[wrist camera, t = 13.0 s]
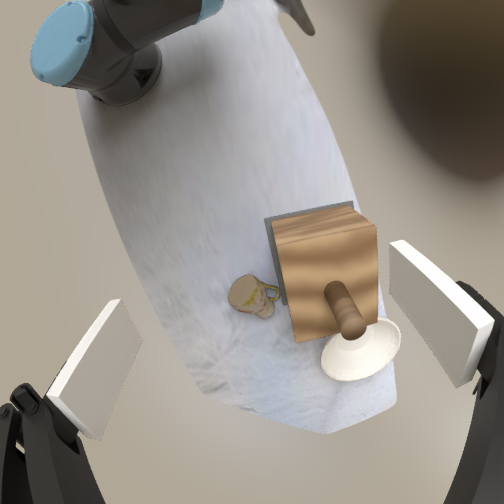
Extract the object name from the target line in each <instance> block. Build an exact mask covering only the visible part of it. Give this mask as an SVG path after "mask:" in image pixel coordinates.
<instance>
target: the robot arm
mask: <svg viewBox="0 0 504 504" xmlns="http://www.w3.org/2000/svg"><path fill="white" fill-rule="evenodd" d="M223 3H224V0H90V1H89V2H85V1H78V0H76V1H73V2H67V3H65V4H63V5H61V6H60V7H58V8H57V9H56V10H55V11H53V12H52V13H51V14H50V15H49V16H48V17H47V19H46V20H45V21H44V23H43V24H42V25H41V27H40V29H39V30H38V32H37V34H36V36H35V40H34V43H33V45H32V50H31V57H30V63H31V68H32V71H33V73H34V75H35V76H36V78H38V79H39V80H40V81H42V82H46V83H49V84H52V85H53V86H61V87H68V88H75V89H81V90H87V91H88V92H89V93H90V94H91V95H92V96H93V97H94V98H95V99H96V100H97V101H99V102H101V103H103V104H107V105H113V106H121V105H126V104H129V103H132V102H134V101H136V100H137V99H139V98H140V97H142V96H143V95H144V94H145V93H146V92H147V91H148V90H149V89H150V88H151V87H152V86H153V84H154V83H155V81H156V79H157V77H158V75H159V72H160V69H161V62H162V59H161V53H160V50H159V48H158V46H157V44H156V43H155V42H156V41H158V40H160V39H162V38H164V37H166V36H168V35H170V34H172V33H175V32H177V31H179V30H181V29H183V28H186V27H188V26H190V25H195V24H197V23H199V22H200V21H201V20H203V19H206V18H208V17H210V16H213V15H215V14H216V13H218V12H219V10H221V8H222V7H223ZM389 247H390V249H389V250H390V289H389V292H390V295H391V296H392V297H393V299H394V300H395V301H396V302H397V304H398V305H399V306H400V308H401V309H402V310H403V312H404V313H405V314H406V316H407V317H408V318H409V320H410V321H411V323H412V324H413V325H414V327H415V328H416V329H417V331H418V332H419V333H420V335H421V336H422V338H423V339H424V341H425V342H426V343H427V345H428V346H429V348H430V349H431V351H432V352H433V354H434V355H435V357H436V358H437V360H438V361H439V363H440V364H441V366H442V367H443V369H444V370H445V372H446V373H447V375H448V376H449V378H450V380H451V381H452V383H453V384H454V386H455V388H458V387H460V386H462V385H464V384H466V383H467V382H469V381H471V380H472V379H473V376H474V374H475V372H476V370H477V369H478V371H479V372H480V374H481V377H480V379H479V381H478V383H477V385H476V387H475V389H474V391H473V394H474V395H475V393H476V391H477V396H476V402H475V407H474V411H473V417H472V421H471V425H470V429H469V433H468V437H467V440H466V444H465V447H464V451H463V454H462V457H461V460H460V463H459V466H458V469H457V472H456V474H455V477H454V480H453V482H452V485H451V487H450V490H449V492H448V494H447V497H446V499H445V501H444V503H443V504H504V317H503V315H502V314H501V313H500V312H499V311H497V310H496V309H495V308H494V307H493V306H492V305H491V304H490V303H489V302H488V301H487V300H486V299H485V300H484V298H483V297H482V296H481V295H480V294H478V292H477V291H476V290H474V288H472V287H471V286H470V285H468V284H466V283H463V282H461V281H458V282H454V281H453V280H452V279H451V278H449V277H448V276H447V275H446V274H445V273H444V272H442V271H441V270H440V269H439V268H438V267H436V266H435V265H434V264H433V263H432V262H431V261H429V260H428V259H427V258H426V257H424V256H423V255H422V254H421V253H419V252H418V251H417V250H416V249H414V248H413V247H412V246H411V245H409V244H408V243H407V242H406V241H404V240H399V241H396V242H391V243H389ZM142 342H143V340H142V338H141V336H140V334H139V332H138V331H137V329H136V327H135V325H134V323H133V321H132V319H131V317H130V315H129V313H128V311H127V309H126V307H125V305H124V303H123V301H122V299H116V300H110V301H109V303H108V304H107V305H106V306H105V308H104V309H103V311H102V312H101V313H100V315H99V316H98V317H97V319H96V320H95V321H94V323H93V324H92V326H91V327H90V329H89V330H88V331H87V333H86V334H85V336H84V337H83V339H82V340H81V341H80V343H79V344H78V346H77V347H76V349H75V350H74V352H73V353H72V355H71V356H70V358H69V359H68V360H67V361H66V362H65V364H64V365H63V367H62V368H61V371H59V373H58V374H57V378H55V379H54V381H53V382H52V384H51V386H50V387H49V389H48V391H47V392H46V394H45V396H44V397H43V399H42V398H41V397H40V396H39V395H38V394H37V392H36V391H35V390H34V389H33V387H31V385H30V384H29V383H24V384H21V385H19V386H18V387H17V388H16V389H15V390H14V391H13V392H12V394H11V396H10V401H11V402H12V403H13V404H14V405H15V407H16V408H17V409H18V410H19V411H17V410H16V408H15V407H14V406H13V405H12V404H10V403H6V404H4V405H2V407H0V504H106V503H105V501H104V499H103V497H102V495H101V492H100V490H99V488H98V485H97V483H96V480H95V478H94V475H93V473H92V470H91V467H90V465H89V462H88V459H87V456H86V453H85V450H84V447H83V444H82V441H81V439H80V438H79V437H78V436H77V433H78V431H80V432H81V433H83V434H84V435H85V436H86V437H87V438H89V439H94V440H99V441H101V439H102V436H103V434H104V431H105V428H106V426H107V423H108V421H109V418H110V416H111V413H112V411H113V408H114V406H115V403H116V401H117V398H118V396H119V394H120V391H121V389H122V387H123V384H124V382H125V380H126V377H127V375H128V373H129V370H130V368H131V366H132V364H133V361H134V359H135V357H136V354H137V352H138V350H139V348H140V346H141V344H142ZM16 442H18V444H20V445H21V446H22V447H23V448H24V449H25V454H24V453H22V452H21V451H20V450H18V449H17V448H16Z"/></svg>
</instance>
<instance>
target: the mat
mask: <svg viewBox="0 0 504 504" xmlns="http://www.w3.org/2000/svg"><path fill="white" fill-rule="evenodd" d="M346 205H348V206H350V207H351V208H352V209H354V206H353V201H348V202H342V203H337V204H332V205H327V206H322V207H317V208H312V209H307V210H302V211H298V212H293V213H288V214H283V215H279V216H274V217H269V218H265V219H264V220H265V224H266V228H267V233H268V237H269V242H270V246H271V251H272V255H273V260H274V265H275V269H276V274H277V278H278V283H279V288H280V293H281V297H282V302H283V305H287V304H288V301H287V296H286V291H285V286H284V281H283V276H282V271H281V266H280V262H279V257H278V252H277V247H276V242H275V238H274V233H273V228H272V224H271V221H272V220H277V219H281V218H286V217H291V216H296V215H301V214H305V213H310V212H315V211H320V210H325V209H330V208H335V207H340V206H346Z"/></svg>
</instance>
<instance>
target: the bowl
mask: <svg viewBox="0 0 504 504" xmlns="http://www.w3.org/2000/svg"><path fill="white" fill-rule="evenodd" d="M400 343H401V333H400V330H399V328H398V326H397V325H396V324H394V323H393V322H392V321H391V320H389V319H387V318H384V317H381V316H378V323H375V324H372V325H368V326H367V329H366V332H365V333H364V334H363V335H362V336H361V337H360V338H358V339H356V340H352V341H349V340H345V339H344V338H343V337H342V335H341V333H338V334H334V335H331V336H330V338H329V339H328V340H327V342H326V344H325V346H324V348H323V352H322V355H321V365H322V369H323V370H324V372H325V374H327V375H328V376H329V377H331V378H333V379H335V380H339V381H356V380H361V379H364V378H367V377H369V376H371V375H373V374H375V373H377V372H378V371H380V370H381V369H383V368H384V367H385V366H386V365H387V364H388V363H389V362H390V361H391V360H392V359H393V358H394V356H395V355H396V353H397V351H398V349H399V347H400Z"/></svg>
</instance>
